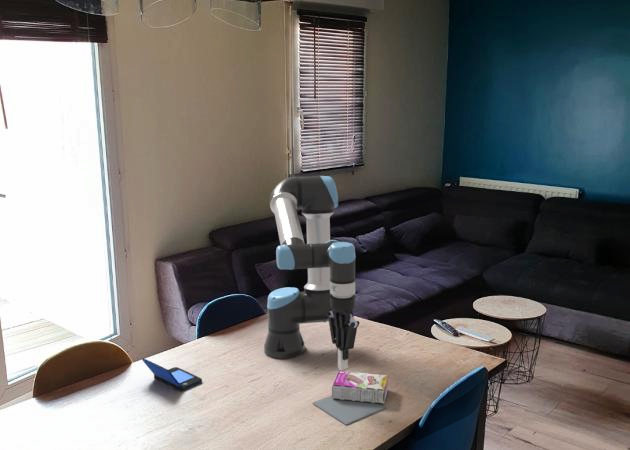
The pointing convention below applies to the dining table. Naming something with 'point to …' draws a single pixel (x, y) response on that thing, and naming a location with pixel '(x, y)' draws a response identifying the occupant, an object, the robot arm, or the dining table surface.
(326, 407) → the mat
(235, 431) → the dining table surface
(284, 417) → the dining table surface
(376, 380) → the candy bar box
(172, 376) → the handheld game console
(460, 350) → the dining table surface
